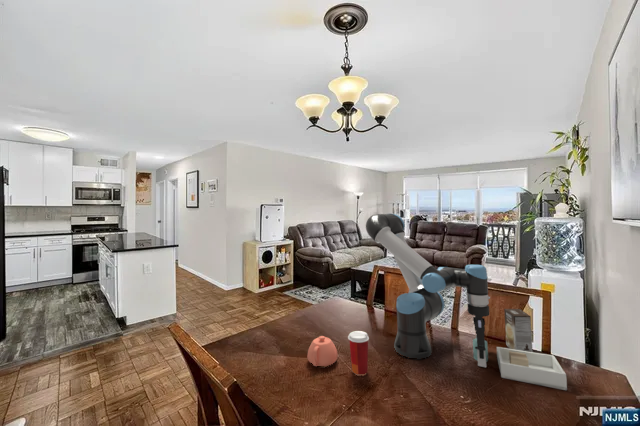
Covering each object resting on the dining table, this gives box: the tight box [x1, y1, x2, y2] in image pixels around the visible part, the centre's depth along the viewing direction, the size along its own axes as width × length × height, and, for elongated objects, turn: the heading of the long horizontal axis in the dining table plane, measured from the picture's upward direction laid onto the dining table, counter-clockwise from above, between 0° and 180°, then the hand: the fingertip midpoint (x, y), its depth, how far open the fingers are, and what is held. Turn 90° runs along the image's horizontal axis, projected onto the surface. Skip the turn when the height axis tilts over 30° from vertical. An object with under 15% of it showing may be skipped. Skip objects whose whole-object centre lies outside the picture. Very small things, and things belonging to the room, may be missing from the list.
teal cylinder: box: [472, 337, 489, 363], centre depth 108 cm, size 5×5×7 cm
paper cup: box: [347, 330, 370, 374], centre depth 102 cm, size 8×8×14 cm
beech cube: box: [509, 351, 529, 367], centre depth 98 cm, size 5×5×5 cm
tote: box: [496, 346, 568, 391], centre depth 97 cm, size 18×14×5 cm
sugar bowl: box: [306, 335, 339, 367], centre depth 109 cm, size 12×14×10 cm
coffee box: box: [503, 308, 533, 352], centre depth 114 cm, size 9×6×16 cm
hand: (481, 358), depth 108 cm, fingers open, 12 cm apart
